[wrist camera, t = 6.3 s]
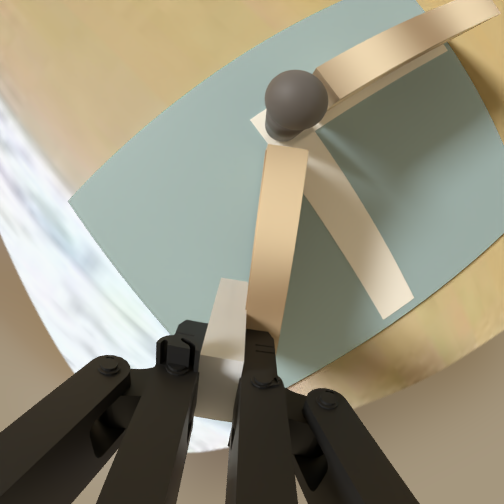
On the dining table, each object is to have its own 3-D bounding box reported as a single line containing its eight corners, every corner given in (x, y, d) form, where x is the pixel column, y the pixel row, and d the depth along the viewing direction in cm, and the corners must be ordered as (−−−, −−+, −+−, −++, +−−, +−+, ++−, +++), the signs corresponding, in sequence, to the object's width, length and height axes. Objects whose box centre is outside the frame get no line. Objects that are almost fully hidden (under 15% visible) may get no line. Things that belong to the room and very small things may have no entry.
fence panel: (264, 150, 16) (266, 143, 10) (293, 154, 16) (310, 149, 10) (240, 343, 19) (233, 404, 13) (265, 345, 19) (266, 407, 13)
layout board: (394, -19, 13) (397, -22, 13) (523, 209, 17) (527, 210, 16) (71, 200, 17) (66, 201, 17) (243, 405, 21) (242, 410, 21)
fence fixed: (428, 22, 14) (500, -29, 6) (446, 47, 14) (526, 8, 6) (255, 121, 16) (250, 84, 8) (277, 151, 16) (292, 139, 9)
